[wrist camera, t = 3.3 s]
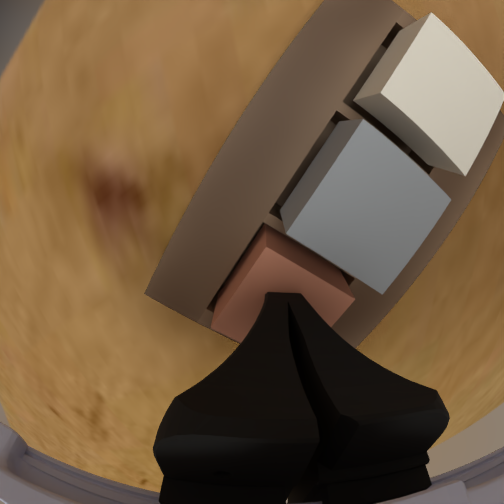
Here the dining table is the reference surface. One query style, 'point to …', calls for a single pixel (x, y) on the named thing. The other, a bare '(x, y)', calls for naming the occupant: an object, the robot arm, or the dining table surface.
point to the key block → (301, 166)
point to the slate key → (363, 204)
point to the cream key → (433, 95)
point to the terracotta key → (278, 283)
